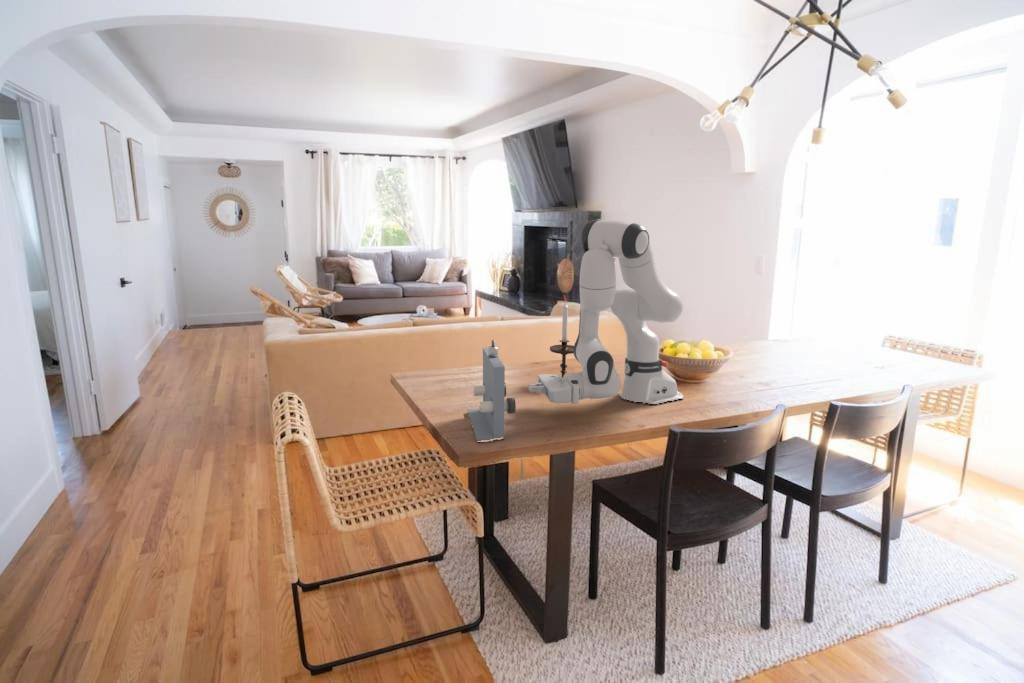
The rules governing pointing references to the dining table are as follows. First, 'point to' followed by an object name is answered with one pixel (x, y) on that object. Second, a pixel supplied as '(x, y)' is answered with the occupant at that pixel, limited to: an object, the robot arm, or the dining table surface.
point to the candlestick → (563, 341)
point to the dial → (492, 351)
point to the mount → (494, 380)
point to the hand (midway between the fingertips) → (529, 388)
